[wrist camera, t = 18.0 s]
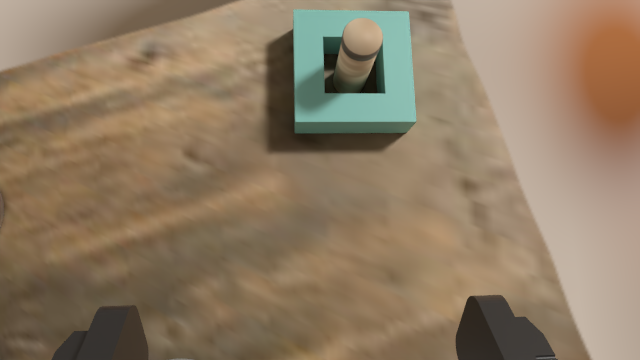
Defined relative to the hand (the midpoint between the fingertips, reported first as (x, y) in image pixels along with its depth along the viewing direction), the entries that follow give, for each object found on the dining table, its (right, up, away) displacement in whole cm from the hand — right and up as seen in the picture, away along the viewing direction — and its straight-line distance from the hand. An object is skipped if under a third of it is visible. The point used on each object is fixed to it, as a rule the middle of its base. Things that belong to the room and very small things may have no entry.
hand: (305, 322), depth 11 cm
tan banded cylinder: (+3, +13, +34) cm, 37 cm away
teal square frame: (+3, +13, +34) cm, 37 cm away
